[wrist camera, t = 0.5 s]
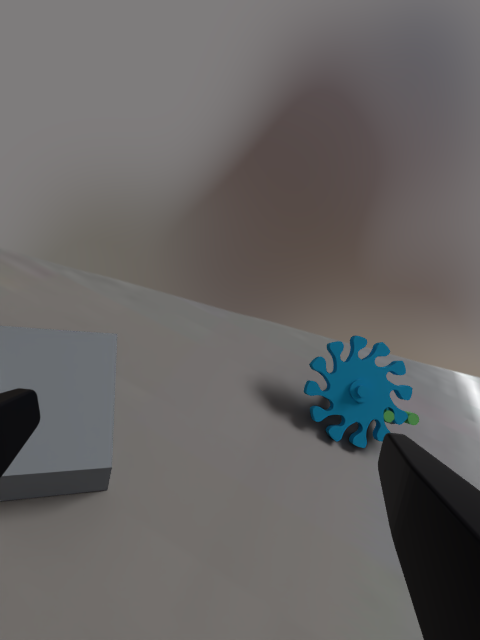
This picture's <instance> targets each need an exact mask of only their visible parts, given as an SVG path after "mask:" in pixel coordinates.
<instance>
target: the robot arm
mask: <svg viewBox="0 0 480 640" xmlns="http://www.w3.org/2000/svg"><path fill="white" fill-rule="evenodd" d="M40 417H41V416H40V409H39V403H38V397H37V393H36V392H35V391H34V390H31V389H23V388H17V389H13V390H10V391H6V392H3V393H0V478H1V477H2V475H3V474H4V473H5V471H6V470H7V469H8V467H9V466H10V464H11V463H12V462H13V460H14V459H15V457H16V456H17V455H18V453H19V452H20V450H21V449H22V448H23V446H24V445H25V443H26V442H27V440H28V439H29V438H30V436H31V435H32V433H33V432H34V431H35V429H36V428H37V426H38V425H39V422H40ZM378 471H379V476H380V481H381V486H382V491H383V496H384V501H385V506H386V511H387V516H388V521H389V526H390V530H391V534H392V538H393V542H394V545H395V549H396V552H397V555H398V558H399V561H400V565H401V568H402V571H403V574H404V577H405V581H406V584H407V587H408V590H409V593H410V597H411V600H412V603H413V606H414V609H415V613H416V616H417V619H418V622H419V625H420V629H421V632H422V635H423V638H424V640H480V491H479V490H478V489H477V488H475V487H474V486H473V485H471V484H470V483H469V482H467V481H466V480H465V479H463V478H462V477H461V476H459V475H458V474H457V473H455V472H454V471H453V470H451V469H450V468H449V467H447V466H446V465H445V464H443V463H442V462H441V461H439V460H438V459H436V458H435V457H434V456H432V455H431V454H430V453H428V452H427V451H426V450H424V449H423V448H422V447H420V446H419V445H418V444H416V443H415V442H414V441H412V440H411V439H410V438H408V437H407V436H405V435H403V434H396V433H387V434H385V436H384V439H383V443H382V447H381V451H380V456H379V460H378Z"/></svg>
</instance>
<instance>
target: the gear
mask: <svg viewBox="0 0 480 640" xmlns="http://www.w3.org/2000/svg"><path fill="white" fill-rule="evenodd" d="M366 344H367V340H366V339H365V338H363V337H360V336H352V337H351V339H350V345H351V350H350V354H349V356H348V358H347V360H346V361H345V362H343V361H341V359H340V354H341V352H342V351H343V348H344V346H343V343H342V342H340V341H338V342H332V343H329V344H327V350H328V351H329V353H330V354H331V356H332V358H333V363H334V369H333V371H332V373H330V374H329V373H328V372H327V371H326V361H325V359H324V358H323V357H316V358H315V359H314V360H313V361H312V362H311V363H310V364H309V365H310V367H311V369H313V370H315V371H317V372H319V373H320V374H321V375H322V376H323V377H324V379H325V381H326V383H327V388H326V390H324V391H322V390H321V389H320V388H319V386H318V384H317V383H316V382H314V381H307V382H306V384H305V387H304V393H305V394H307V395H310V396H314V395H321V396H323V397H325V398H326V399H328V400H329V401H330V407H329V408H328V409H327V410H324V409H323V408H321V407H318V406H312V407H310V414H311V417H312V420H314V421H316V422H320V421H322V420H323V419H324V418H326V417H327V416H330V415H340V416H341V418H342V421H341V423H340V424H338V425H329V426H328V427H327V428H326V432H327V434H328V435H329V436H330V437H331V438H332V439H333V440H335V441H336V442H337V441H339V440H341V438H342V436H343V433H344V431H345V430H346V428H347V427H348V426H350V425H351V424H353V423H355V422H357V423H358V425H359V428H358V430H357V431H356V432H354V433H352V434H351V435H350V437H349V442H351V443H352V444H354V445H356V446H358V447H362V448H365V447H366V445H367V439H366V431H367V428H368V426H369V424H370V422H371V421H372V420H374V419H375V421H376V427H375V428H374V430H373V437H374V439H376V440H378V441H383V439H384V436H385V434H387V433H390V431H389V430H388V429H387V427H386V425H385V423H384V421H385V422H387V423H390V424H395V423H396V424H399V425H400V424H402V423H403V422H405V423H408V424H411V425H416V424H417V423H418V422H419V417H418V415H417V414H414V413H410V412H406V411H402V410H400V409H398V408H397V407H396V406H395V405H394V404H393V402H392V400H391V398H390V392H391V391H392V390H394V392H395V394H396V395H397V397H398V398H400V399H404V400H410V398H411V395H412V388H411V387H410V386H406V385H399V386H397V385H394V384H392V383H391V382H389V381H388V380H387V378H386V374H387V373H388V372H391V373H392V374H395V375H404V374H405V373H406V369H405V365H404V363H403V361H393V362H391V363H390V364H389V365H387V366H385V367H378V366H376V365H375V358H376V357H378V356H387V355H388V354H389V353H390V350H389V348H388V347H387V346H386V345H385V344H384V343H383V342H380V343H376V344H375V345H374V346H373V349H372V351H371V353H370V354H369V355H368V356H367V357H365V358H364V359H362V360H361V359H360V358H359V357H358V351H359V350H360V349H362V348H364V347H365V346H366Z"/></svg>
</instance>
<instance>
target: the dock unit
mask: <svg viewBox="0 0 480 640" xmlns="http://www.w3.org/2000/svg"><path fill="white" fill-rule="evenodd" d="M116 351H117V334H110V333H96V332H81V331H67V330H52V329H38V328H24V327H9V326H0V393H3V392H6V391H10V390H13V389H17V388H23V389H31V390H34V391H35V392H36V393H37V397H38V403H39V409H40V416H41V417H40V422H39V425H38V426H37V428H36V429H35V431H34V432H33V433H32V435H31V436H30V438H29V439H28V440H27V442H26V443H25V445H24V446H23V448H22V449H21V450H20V452H19V453H18V455H17V456H16V457H15V459H14V460H13V462H12V463H11V464H10V466H9V467H8V469H7V470H6V471H5V473H4V474H3V475H2V477H1V478H0V501H8V500H17V499H27V498H36V497H46V496H55V495H65V494H74V493H84V492H93V491H103V490H107V489H108V484H109V479H110V474H111V469H112V451H113V426H114V401H115V376H116Z"/></svg>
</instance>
